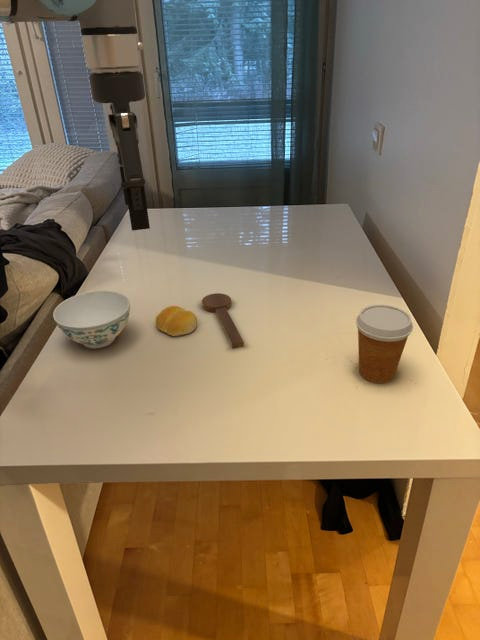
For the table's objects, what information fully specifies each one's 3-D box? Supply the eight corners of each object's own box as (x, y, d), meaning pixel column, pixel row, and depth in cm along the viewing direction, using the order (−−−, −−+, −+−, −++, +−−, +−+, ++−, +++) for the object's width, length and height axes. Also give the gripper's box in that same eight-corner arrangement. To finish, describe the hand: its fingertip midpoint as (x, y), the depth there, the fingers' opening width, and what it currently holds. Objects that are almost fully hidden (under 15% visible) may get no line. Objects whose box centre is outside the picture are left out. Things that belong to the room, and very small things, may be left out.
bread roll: (179, 341, 96) (177, 325, 94) (150, 327, 101) (148, 312, 99) (206, 324, 102) (205, 308, 100) (177, 312, 107) (175, 297, 105)
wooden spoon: (221, 350, 93) (221, 344, 92) (199, 301, 111) (199, 295, 110) (254, 344, 95) (253, 338, 94) (227, 296, 113) (226, 291, 112)
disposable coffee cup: (349, 385, 83) (355, 328, 77) (351, 355, 91) (357, 301, 84) (405, 392, 81) (416, 334, 74) (402, 360, 89) (412, 305, 82)
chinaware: (83, 318, 106) (76, 288, 102) (145, 324, 103) (141, 293, 99) (47, 356, 93) (37, 323, 89) (117, 364, 90) (110, 330, 86)
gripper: (152, 73, 57) (170, 238, 68) (134, 65, 77) (150, 193, 88) (88, 77, 55) (118, 245, 66) (87, 68, 76) (110, 197, 87)
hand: (136, 215), depth 77 cm, fingers open, 13 cm apart
